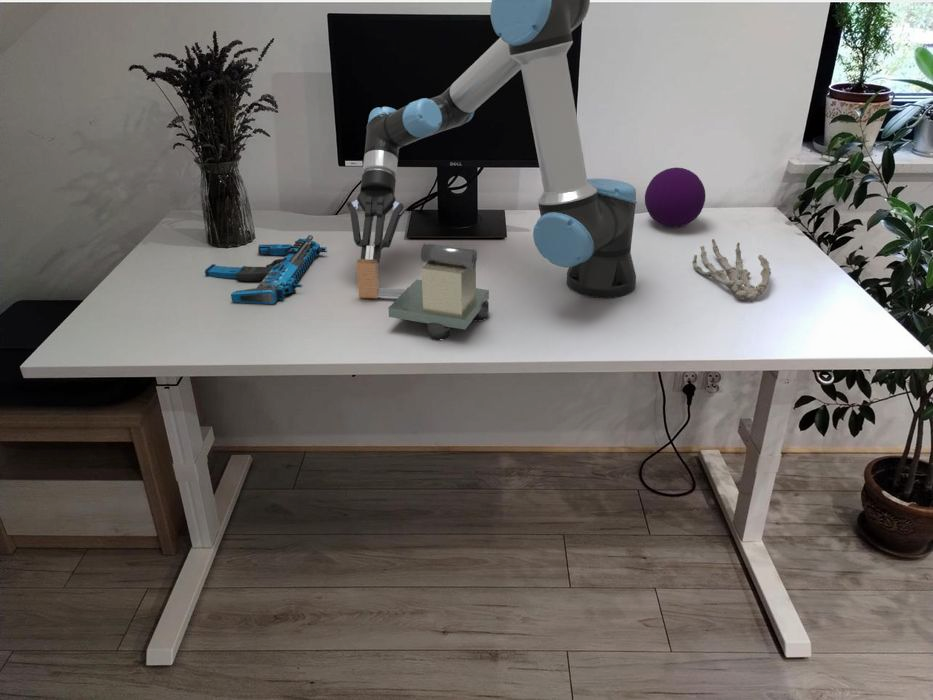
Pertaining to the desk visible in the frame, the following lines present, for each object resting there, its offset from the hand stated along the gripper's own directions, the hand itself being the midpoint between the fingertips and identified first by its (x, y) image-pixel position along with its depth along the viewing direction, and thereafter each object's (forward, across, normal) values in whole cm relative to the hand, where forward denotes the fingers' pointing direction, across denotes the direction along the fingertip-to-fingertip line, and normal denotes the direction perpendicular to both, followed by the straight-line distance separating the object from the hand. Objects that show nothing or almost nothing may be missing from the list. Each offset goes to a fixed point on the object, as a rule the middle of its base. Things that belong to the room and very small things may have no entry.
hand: (368, 276), depth 169 cm
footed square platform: (+11, -17, +5) cm, 21 cm away
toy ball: (-29, -70, -36) cm, 84 cm away
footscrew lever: (+4, -6, -1) cm, 7 cm away
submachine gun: (-4, +27, -11) cm, 29 cm away
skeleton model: (-7, -79, -13) cm, 81 cm away
